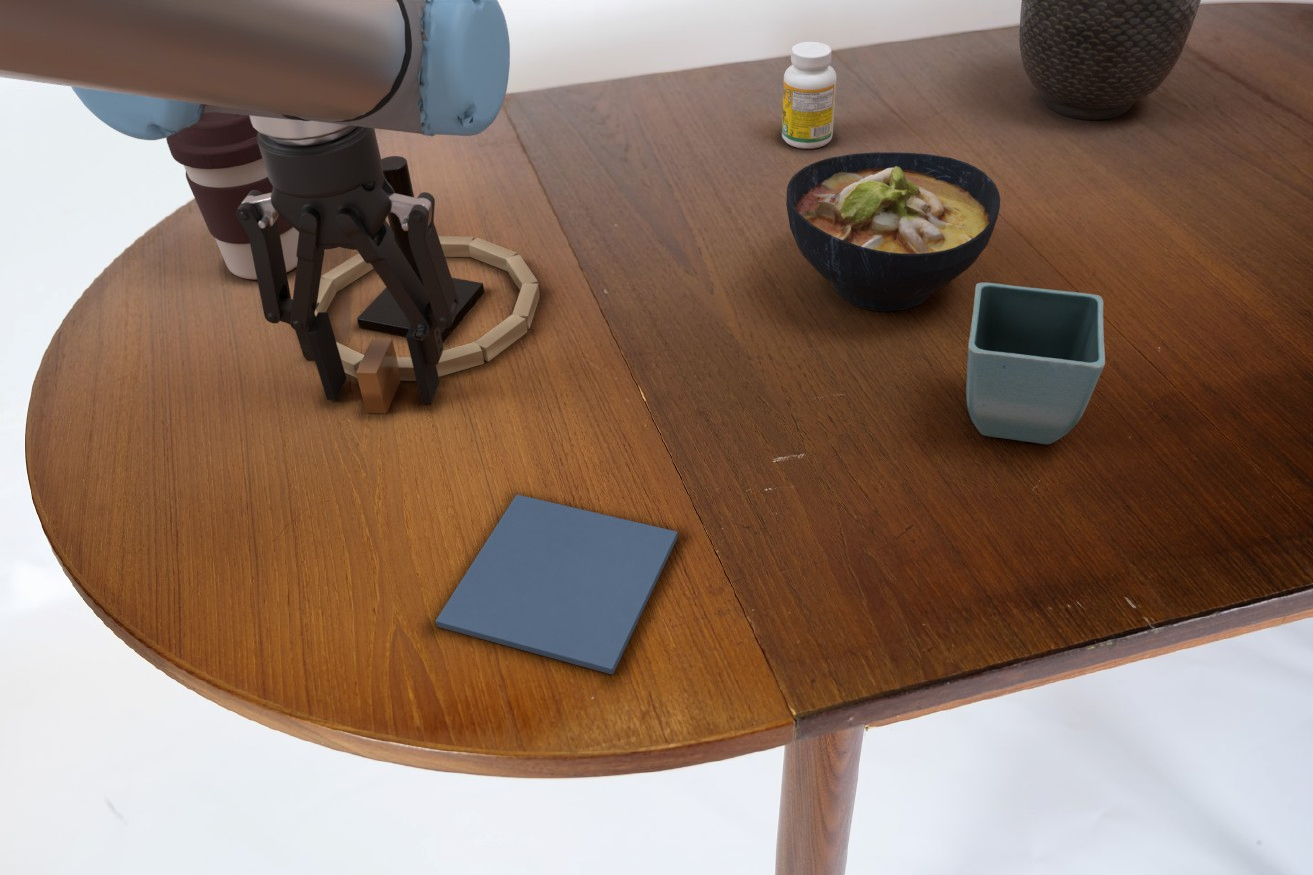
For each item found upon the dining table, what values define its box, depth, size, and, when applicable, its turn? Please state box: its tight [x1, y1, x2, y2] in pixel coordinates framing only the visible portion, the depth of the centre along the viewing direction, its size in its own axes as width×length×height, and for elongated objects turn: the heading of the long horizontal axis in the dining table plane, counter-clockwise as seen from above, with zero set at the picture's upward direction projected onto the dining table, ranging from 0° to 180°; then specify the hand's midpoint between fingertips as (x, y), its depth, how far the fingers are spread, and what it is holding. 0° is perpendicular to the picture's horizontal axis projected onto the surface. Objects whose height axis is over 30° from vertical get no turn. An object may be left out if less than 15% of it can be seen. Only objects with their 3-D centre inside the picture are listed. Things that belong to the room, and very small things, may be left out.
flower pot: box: [965, 282, 1106, 445], centre depth 81 cm, size 9×9×9 cm
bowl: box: [785, 151, 1001, 312], centre depth 95 cm, size 17×17×10 cm
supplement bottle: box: [781, 41, 837, 150], centre depth 116 cm, size 5×5×10 cm
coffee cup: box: [165, 112, 299, 280], centre depth 100 cm, size 10×10×15 cm
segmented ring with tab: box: [315, 235, 541, 415], centre depth 95 cm, size 24×20×4 cm
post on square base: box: [356, 155, 485, 344], centre depth 93 cm, size 8×8×14 cm
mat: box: [435, 494, 679, 676], centre depth 74 cm, size 12×12×1 cm
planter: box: [1018, 0, 1202, 121], centre depth 118 cm, size 17×17×16 cm
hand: (383, 390), depth 89 cm, fingers open, 7 cm apart
